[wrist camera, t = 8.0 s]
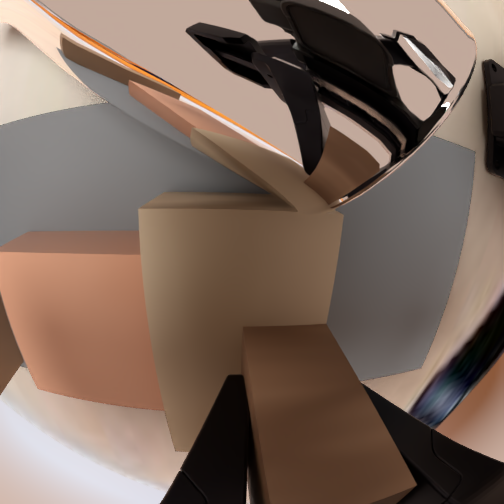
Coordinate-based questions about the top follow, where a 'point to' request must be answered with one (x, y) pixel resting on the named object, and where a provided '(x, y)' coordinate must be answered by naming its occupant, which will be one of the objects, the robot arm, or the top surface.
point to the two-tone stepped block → (263, 344)
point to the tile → (81, 315)
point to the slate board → (222, 180)
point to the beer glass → (269, 80)
